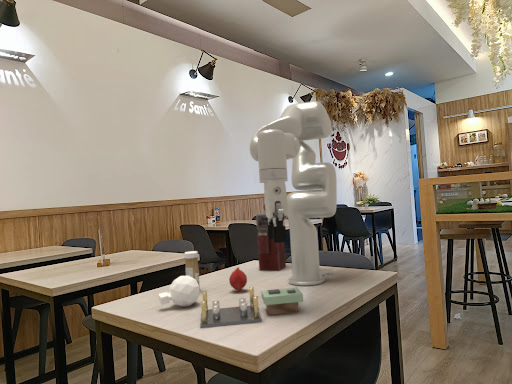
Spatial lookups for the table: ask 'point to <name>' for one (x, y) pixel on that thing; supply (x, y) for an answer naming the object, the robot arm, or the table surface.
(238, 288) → the onion
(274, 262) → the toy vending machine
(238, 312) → the chassis
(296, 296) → the board
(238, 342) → the table surface
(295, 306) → the walnut stand
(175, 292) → the perfume bottle
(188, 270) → the sprinkles bottle
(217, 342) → the table surface
